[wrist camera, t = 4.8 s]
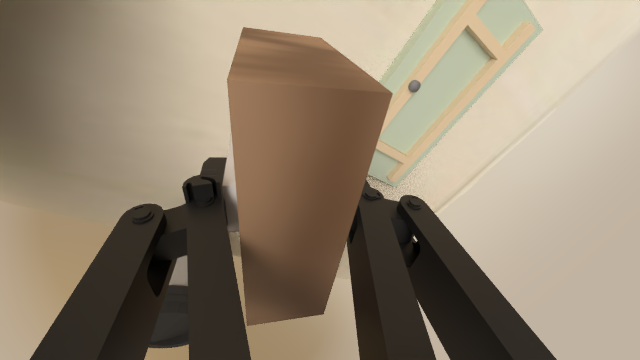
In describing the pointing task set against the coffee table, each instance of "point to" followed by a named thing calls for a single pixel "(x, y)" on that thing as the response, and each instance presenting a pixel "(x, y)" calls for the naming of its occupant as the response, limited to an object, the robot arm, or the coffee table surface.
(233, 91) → the brown wooden picture frame
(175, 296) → the coffee cup
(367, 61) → the coffee table surface
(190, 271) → the robot arm
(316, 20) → the coffee table surface
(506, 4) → the mint cabinet door
